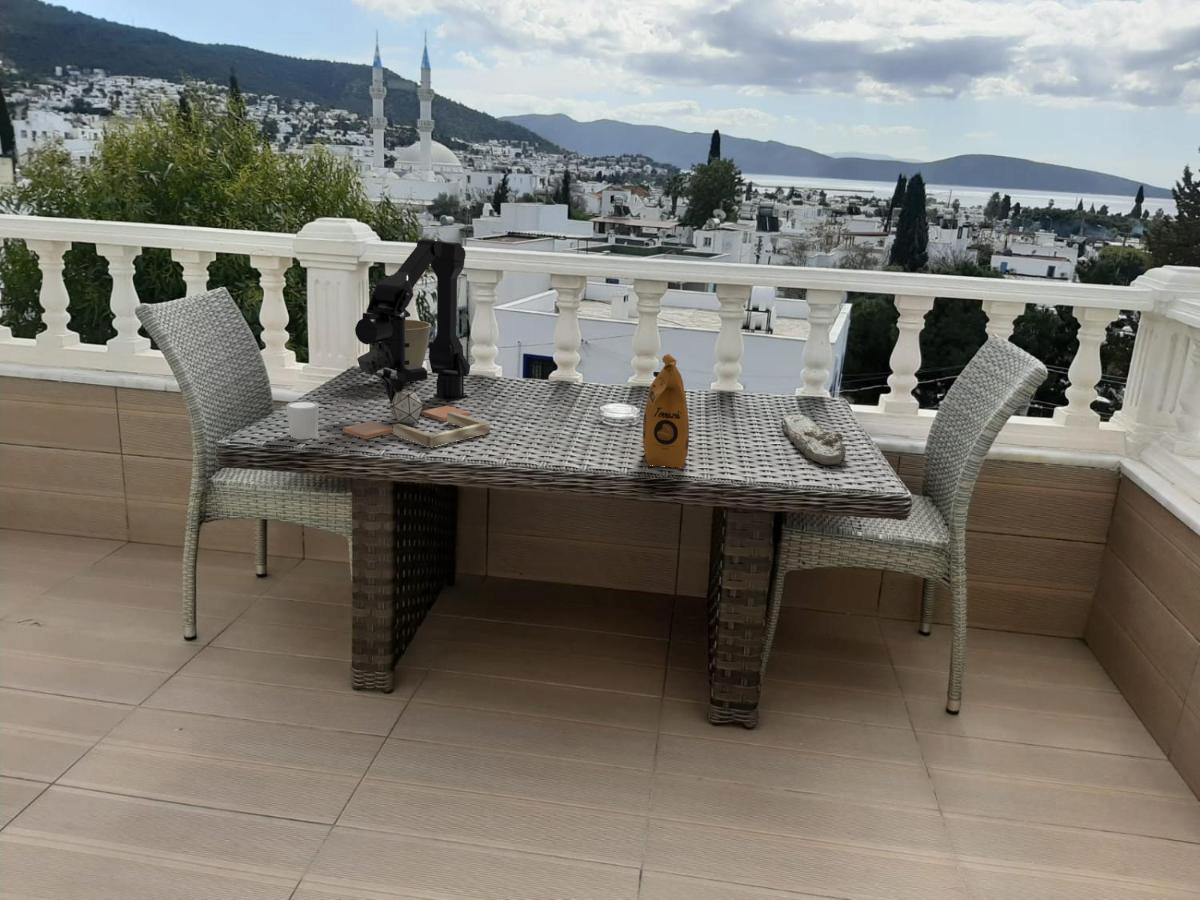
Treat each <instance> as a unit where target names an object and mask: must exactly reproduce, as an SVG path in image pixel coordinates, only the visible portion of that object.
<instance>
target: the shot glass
mask: <svg viewBox="0 0 1200 900" xmlns="http://www.w3.org/2000/svg"><path fill="white" fill-rule="evenodd" d="M285 409H286V415H287V422H288V428H289V435H290V438H292V437H293V438H292V439H294V438H299V439H298V440H311V439H310V438H312V439H314V437H315V438H316V436H317V437H318V432H319V431H318V429H319V428H318V427H319V414H320V413H319V412H320V411H319V410H320V404H319V403H317V402H315V401H306V400H305V401H294V402H290V403H287V404H286V405H285Z"/></svg>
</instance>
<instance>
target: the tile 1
mask: <svg viewBox="0 0 1200 900" xmlns="http://www.w3.org/2000/svg"><path fill="white" fill-rule="evenodd" d="M342 429H343V433H345V434H349V435H351V436H353V437H357V438H359V437H360V439H362V440H365V439H366V440H369V438H370V439H373V437H374V438H377V437H376V436H379V437H381V436H380V435H383V436H386V435H385V434H388V435H390V434H389V433H392V432H394V429H393V427H391V426H388V425H387V424H386V425H385V424H382V423H379V422H377V421H368V422H363V423H358V424H353V425H349V426H344V427H343V428H342ZM392 434H393V433H392Z"/></svg>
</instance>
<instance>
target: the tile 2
mask: <svg viewBox="0 0 1200 900" xmlns="http://www.w3.org/2000/svg"><path fill="white" fill-rule="evenodd" d="M449 412H454V413H458V414H461V415H464V416H468V417H470V416H469V414H470V412H469V411H467V410H463V409H459V408H457V407H453V406H451V405H443V406H439V407H433V408H430V409H429V408H428V409H424V410H422V411H421V413H420V416H423V415H424V416H423V417H426V416H427V418H429V417H431V418H430V419H433V418H434V419H433V420H436V419H438V420H437V421H439V420H441V421H440V422H442V421H445V422H447V421H446V420H447V413H449Z"/></svg>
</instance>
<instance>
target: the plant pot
mask: <svg viewBox="0 0 1200 900" xmlns="http://www.w3.org/2000/svg"><path fill="white" fill-rule="evenodd" d="M431 326H432V325H431V323H429V322H426V321H423V320H417V319H416V320H415V319H406V336H405V342H408V343H409V347H407V348H405V359H406V360H409V365H405V366H411V365H417V366H421V367H423V365H424V361H425V358H426V354H427V351H428V350H427V349H428V347H429V339H430V331H431ZM395 369H397V368H395ZM407 384H411V383H410V382H407Z"/></svg>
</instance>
